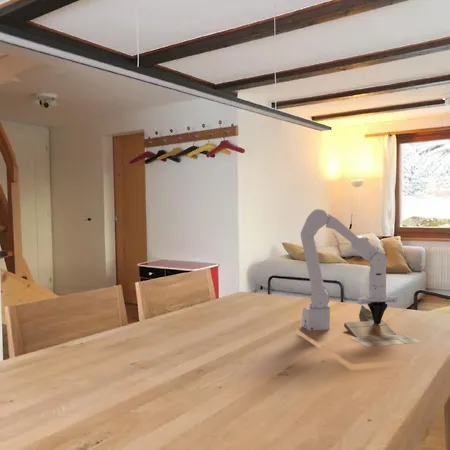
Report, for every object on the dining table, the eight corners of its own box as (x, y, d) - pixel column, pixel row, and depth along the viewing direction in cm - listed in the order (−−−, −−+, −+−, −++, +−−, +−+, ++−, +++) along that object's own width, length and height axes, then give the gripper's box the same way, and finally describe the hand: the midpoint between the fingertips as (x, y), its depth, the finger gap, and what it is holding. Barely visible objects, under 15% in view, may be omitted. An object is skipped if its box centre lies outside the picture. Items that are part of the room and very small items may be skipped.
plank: (356, 340, 166) (356, 337, 165) (343, 326, 174) (344, 322, 173) (395, 337, 169) (396, 334, 169) (381, 323, 177) (382, 320, 177)
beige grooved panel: (366, 350, 155) (366, 346, 154) (350, 342, 164) (350, 337, 164) (421, 346, 159) (421, 341, 159) (403, 338, 169) (403, 333, 169)
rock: (377, 328, 178) (359, 306, 182) (365, 337, 181) (348, 315, 185) (389, 322, 186) (372, 301, 191) (378, 331, 189) (361, 310, 194)
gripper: (365, 288, 168) (364, 327, 169) (402, 286, 172) (401, 324, 172) (354, 284, 175) (354, 322, 175) (390, 282, 178) (390, 319, 179)
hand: (377, 323), depth 174 cm, fingers closed, pressing on plank
